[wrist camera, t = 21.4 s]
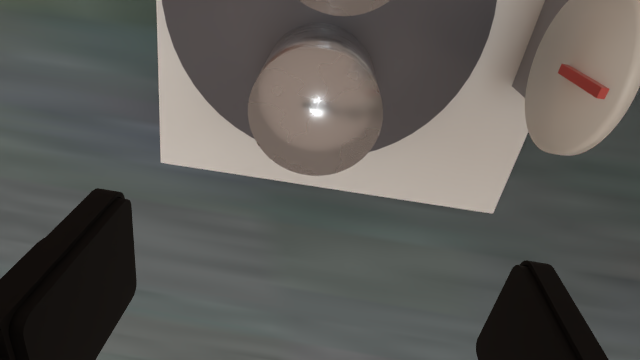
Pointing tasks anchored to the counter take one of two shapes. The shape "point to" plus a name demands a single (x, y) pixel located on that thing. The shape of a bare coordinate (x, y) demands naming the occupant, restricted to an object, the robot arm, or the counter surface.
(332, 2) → the cylinder
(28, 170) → the counter surface
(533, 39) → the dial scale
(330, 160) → the cylinder
